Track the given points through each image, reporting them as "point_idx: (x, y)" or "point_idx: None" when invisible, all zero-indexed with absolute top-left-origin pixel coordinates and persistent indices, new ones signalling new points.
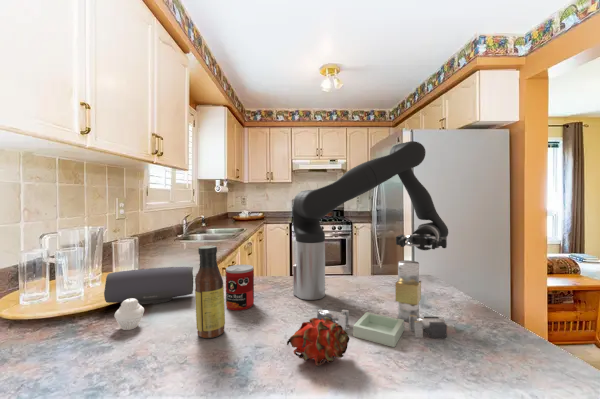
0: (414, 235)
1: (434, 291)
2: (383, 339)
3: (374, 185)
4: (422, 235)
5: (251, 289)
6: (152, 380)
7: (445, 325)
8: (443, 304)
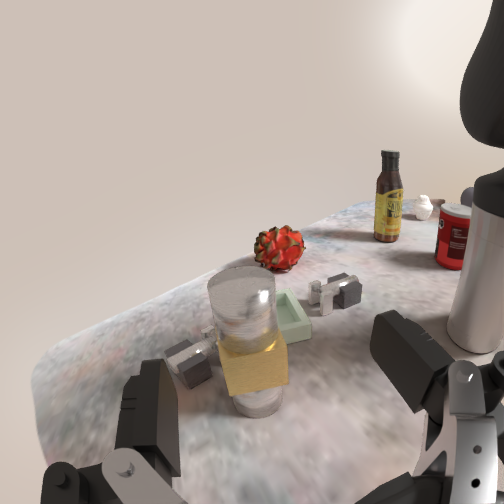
0: (450, 482)
1: None
2: None
3: None
4: None
5: (445, 241)
6: (336, 219)
7: (166, 351)
8: None
